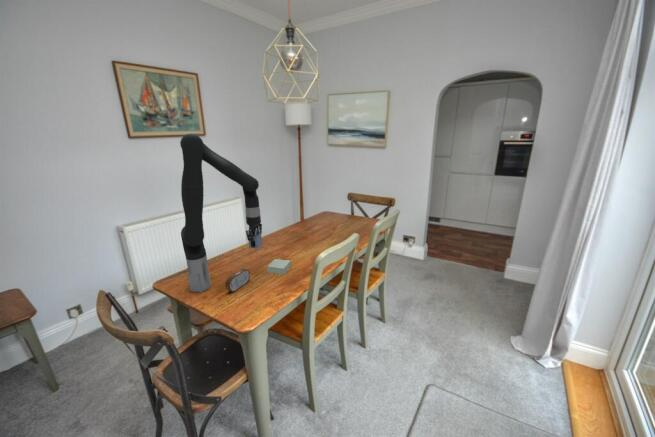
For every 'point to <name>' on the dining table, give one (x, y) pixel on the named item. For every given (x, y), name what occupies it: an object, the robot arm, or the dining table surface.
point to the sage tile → (279, 266)
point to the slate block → (257, 241)
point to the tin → (237, 280)
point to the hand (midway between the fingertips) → (255, 244)
